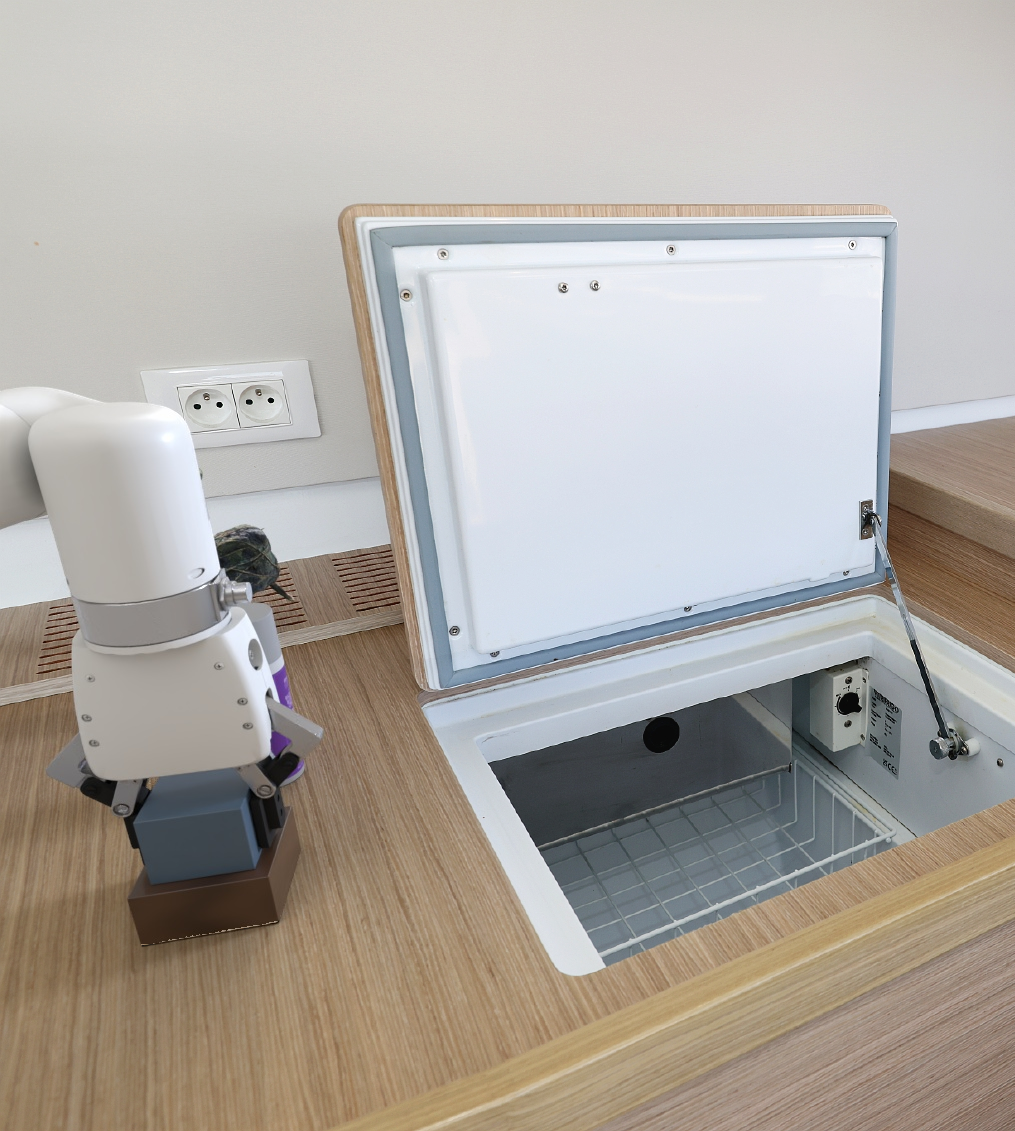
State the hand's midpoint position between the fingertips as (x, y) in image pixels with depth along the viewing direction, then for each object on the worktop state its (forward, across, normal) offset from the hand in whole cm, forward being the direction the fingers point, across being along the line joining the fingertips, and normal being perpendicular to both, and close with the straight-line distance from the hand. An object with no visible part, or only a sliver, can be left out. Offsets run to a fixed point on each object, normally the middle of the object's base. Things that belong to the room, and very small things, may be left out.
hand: (214, 841), depth 65 cm
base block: (+5, 0, 0) cm, 5 cm away
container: (+5, 0, -15) cm, 16 cm away
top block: (+1, 0, 0) cm, 1 cm away
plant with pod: (+5, +9, -45) cm, 46 cm away
